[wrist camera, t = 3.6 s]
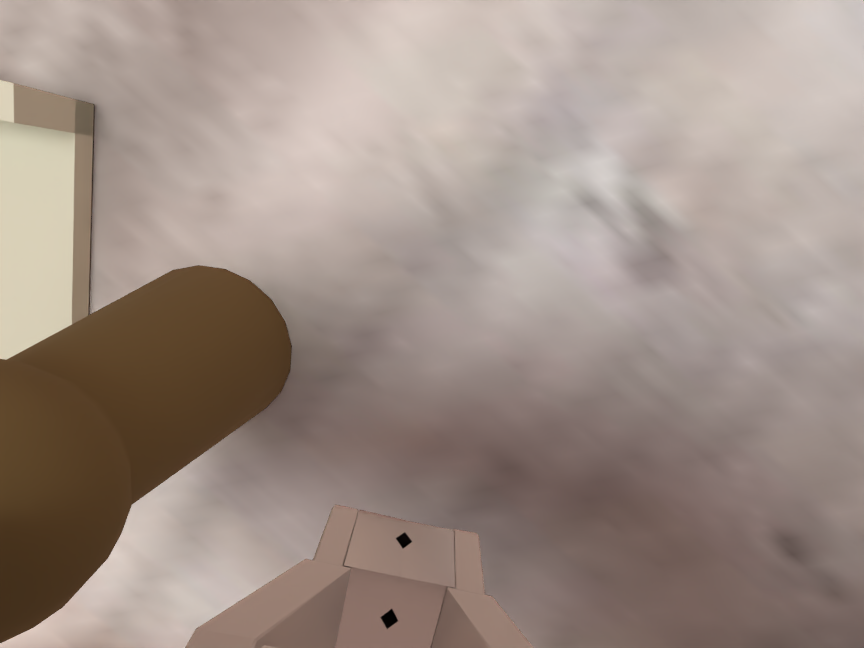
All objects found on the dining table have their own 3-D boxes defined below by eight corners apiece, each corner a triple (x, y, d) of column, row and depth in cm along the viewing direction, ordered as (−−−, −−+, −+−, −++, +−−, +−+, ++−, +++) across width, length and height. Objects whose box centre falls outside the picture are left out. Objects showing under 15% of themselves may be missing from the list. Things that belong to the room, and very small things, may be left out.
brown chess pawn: (140, 244, 17) (-390, 322, 6) (308, 293, 17) (75, 451, 6) (119, 397, 18) (-335, 672, 8) (273, 441, 19) (39, 765, 8)
